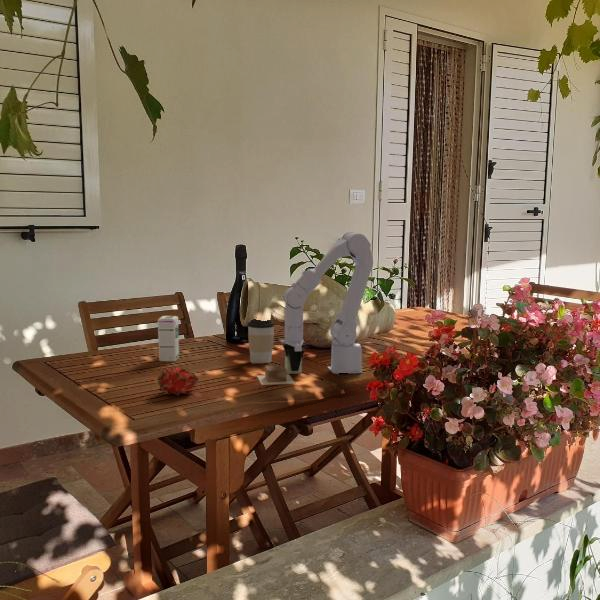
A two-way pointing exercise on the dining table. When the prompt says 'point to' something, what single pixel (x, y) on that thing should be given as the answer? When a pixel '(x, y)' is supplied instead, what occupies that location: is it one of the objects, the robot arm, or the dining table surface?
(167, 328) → the syrup box
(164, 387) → the dragon fruit
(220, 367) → the dining table surface
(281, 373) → the walnut block
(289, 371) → the sage block
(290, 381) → the stone tile
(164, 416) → the dining table surface
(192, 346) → the dining table surface
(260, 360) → the coffee cup
